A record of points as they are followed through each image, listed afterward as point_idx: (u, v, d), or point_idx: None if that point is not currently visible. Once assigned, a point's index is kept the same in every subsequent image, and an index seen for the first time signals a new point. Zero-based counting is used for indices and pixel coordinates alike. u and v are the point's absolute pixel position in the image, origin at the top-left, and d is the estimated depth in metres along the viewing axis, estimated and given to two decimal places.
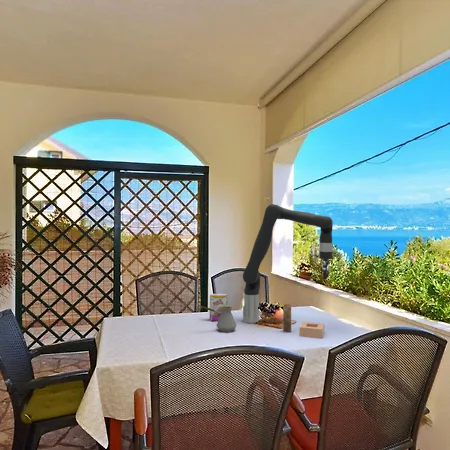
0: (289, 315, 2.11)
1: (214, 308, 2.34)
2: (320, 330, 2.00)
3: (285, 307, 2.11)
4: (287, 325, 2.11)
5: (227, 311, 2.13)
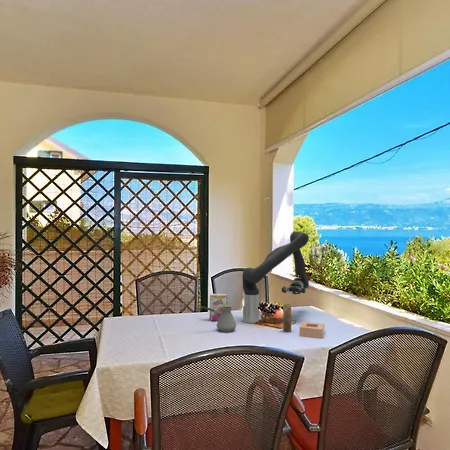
0: (289, 315, 2.11)
1: (214, 308, 2.34)
2: (320, 330, 2.00)
3: (285, 307, 2.11)
4: (287, 325, 2.11)
5: (227, 311, 2.13)
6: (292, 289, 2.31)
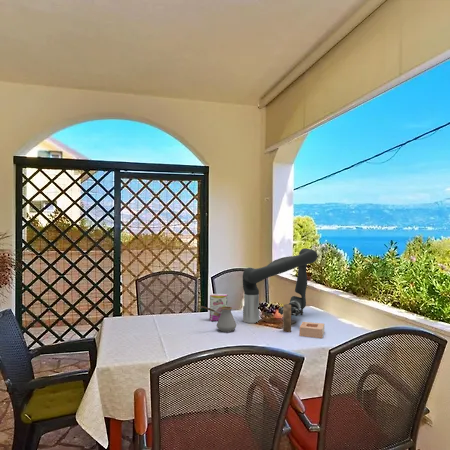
0: (289, 315, 2.11)
1: (214, 308, 2.34)
2: (320, 330, 2.00)
3: (285, 307, 2.11)
4: (287, 325, 2.11)
5: (227, 311, 2.13)
6: None
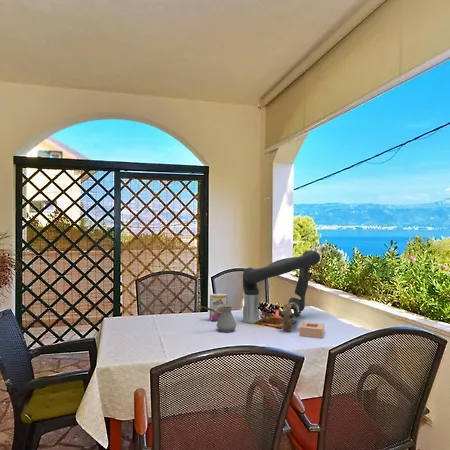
0: (289, 315, 2.11)
1: (214, 308, 2.34)
2: (320, 330, 2.00)
3: (285, 307, 2.11)
4: (287, 325, 2.11)
5: (227, 311, 2.13)
6: None
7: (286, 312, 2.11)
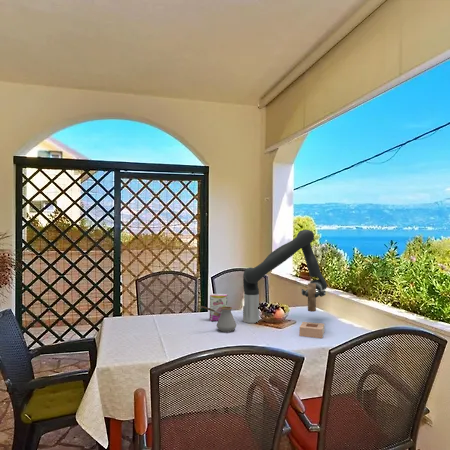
0: (314, 294, 2.06)
1: (214, 308, 2.34)
2: (320, 330, 2.00)
3: (310, 286, 2.06)
4: (312, 304, 2.05)
5: (227, 311, 2.13)
6: None
7: (311, 291, 2.06)
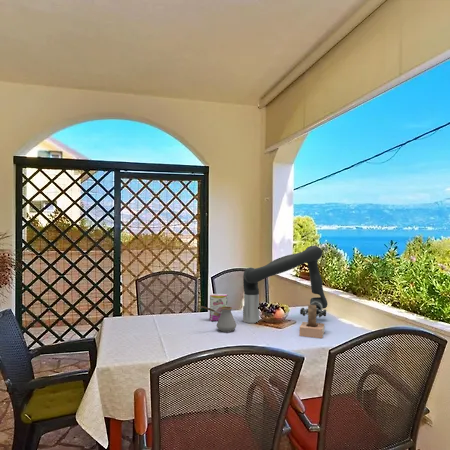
0: (314, 316, 2.05)
1: (214, 308, 2.34)
2: (320, 330, 2.00)
3: (310, 308, 2.06)
4: None
5: (227, 311, 2.13)
6: None
7: (311, 313, 2.05)
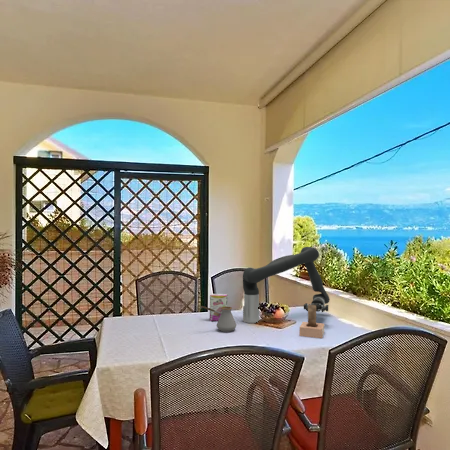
0: (314, 316, 2.06)
1: (214, 308, 2.34)
2: (320, 330, 2.00)
3: (310, 308, 2.06)
4: None
5: (227, 311, 2.13)
6: None
7: (311, 313, 2.05)
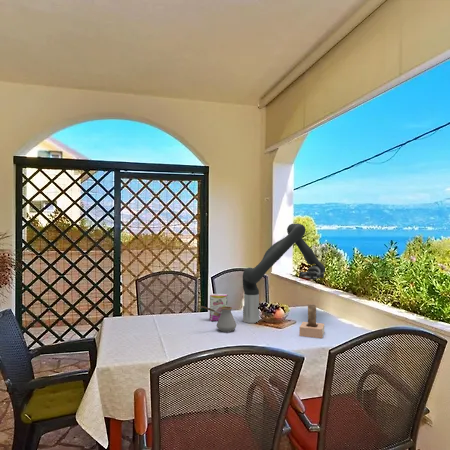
0: (314, 316, 2.06)
1: (214, 308, 2.34)
2: (320, 330, 2.00)
3: (310, 308, 2.06)
4: (312, 326, 2.05)
5: (227, 311, 2.13)
6: (310, 274, 2.27)
7: (311, 313, 2.05)
